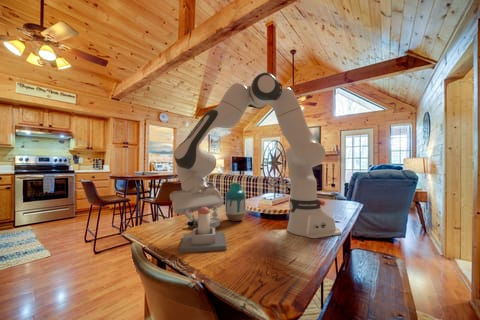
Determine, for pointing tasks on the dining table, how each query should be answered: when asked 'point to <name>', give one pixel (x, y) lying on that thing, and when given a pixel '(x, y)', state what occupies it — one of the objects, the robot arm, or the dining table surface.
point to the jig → (203, 241)
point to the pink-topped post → (203, 221)
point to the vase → (235, 202)
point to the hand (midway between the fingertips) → (204, 218)
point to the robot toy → (213, 222)
